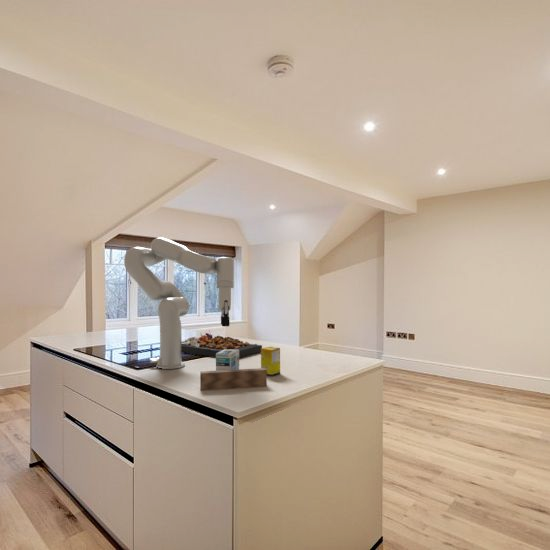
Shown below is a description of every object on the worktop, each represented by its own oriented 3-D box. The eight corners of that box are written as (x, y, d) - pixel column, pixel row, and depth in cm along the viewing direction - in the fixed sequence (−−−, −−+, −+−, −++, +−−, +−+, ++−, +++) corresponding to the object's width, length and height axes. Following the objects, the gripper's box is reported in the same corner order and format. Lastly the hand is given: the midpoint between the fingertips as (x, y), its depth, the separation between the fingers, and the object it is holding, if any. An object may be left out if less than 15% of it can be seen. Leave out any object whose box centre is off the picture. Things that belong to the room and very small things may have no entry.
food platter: (171, 352, 207) (171, 333, 208) (203, 345, 228) (203, 329, 228) (233, 361, 182) (233, 340, 183) (262, 353, 203) (261, 334, 203)
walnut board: (200, 390, 131) (200, 373, 131) (200, 388, 134) (200, 371, 134) (266, 386, 136) (266, 369, 136) (265, 384, 139) (265, 368, 139)
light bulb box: (231, 381, 142) (231, 353, 142) (215, 380, 143) (215, 353, 144) (239, 375, 153) (239, 349, 153) (224, 374, 154) (224, 348, 154)
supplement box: (269, 371, 158) (269, 346, 158) (280, 373, 154) (280, 347, 154) (260, 374, 153) (260, 348, 154) (271, 376, 150) (271, 349, 150)
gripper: (215, 284, 171) (215, 323, 171) (217, 285, 154) (217, 327, 154) (231, 284, 173) (231, 323, 172) (235, 285, 156) (235, 327, 156)
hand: (225, 325), depth 163 cm, fingers open, 6 cm apart
